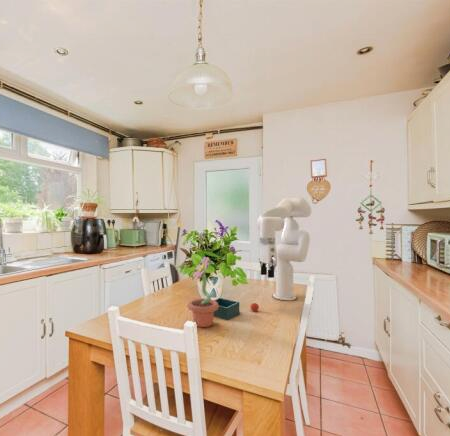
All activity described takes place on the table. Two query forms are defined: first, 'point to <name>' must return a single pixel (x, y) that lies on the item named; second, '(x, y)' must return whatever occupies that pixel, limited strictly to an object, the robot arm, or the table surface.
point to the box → (226, 308)
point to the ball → (254, 306)
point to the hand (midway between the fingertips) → (267, 275)
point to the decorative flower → (203, 307)
